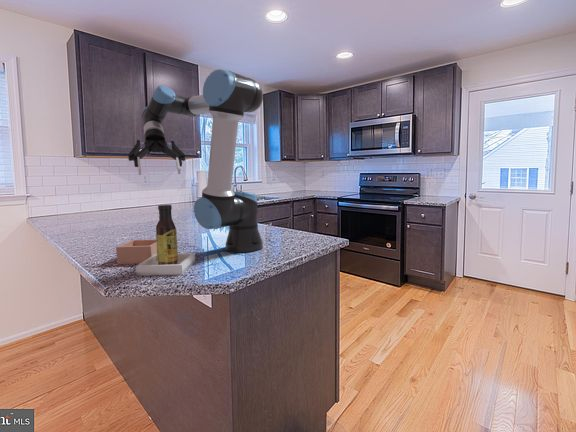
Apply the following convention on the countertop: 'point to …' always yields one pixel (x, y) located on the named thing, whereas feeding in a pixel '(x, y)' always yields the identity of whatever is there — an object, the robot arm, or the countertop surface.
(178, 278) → the countertop surface
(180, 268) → the tray
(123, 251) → the holder
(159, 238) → the sauce bottle
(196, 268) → the countertop surface
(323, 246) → the countertop surface
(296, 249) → the countertop surface
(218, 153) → the robot arm
